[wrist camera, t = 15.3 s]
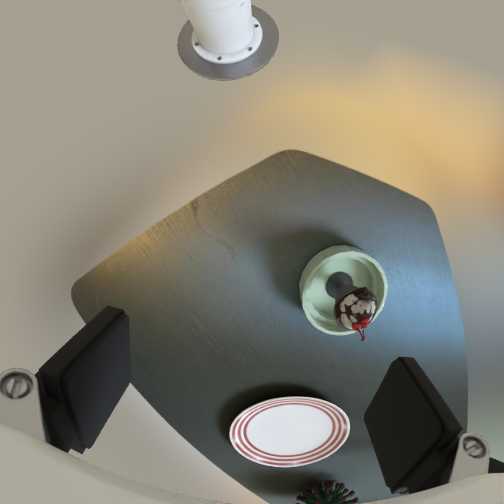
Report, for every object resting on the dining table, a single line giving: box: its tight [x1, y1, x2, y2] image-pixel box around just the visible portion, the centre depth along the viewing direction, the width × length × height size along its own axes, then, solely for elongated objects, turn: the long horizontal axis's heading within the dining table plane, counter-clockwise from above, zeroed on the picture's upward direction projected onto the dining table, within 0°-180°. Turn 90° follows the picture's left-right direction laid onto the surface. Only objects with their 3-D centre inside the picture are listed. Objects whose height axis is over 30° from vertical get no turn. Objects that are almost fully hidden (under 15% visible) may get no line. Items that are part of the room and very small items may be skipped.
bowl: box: [299, 245, 387, 335], centre depth 45 cm, size 14×14×5 cm
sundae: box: [326, 272, 378, 341], centre depth 39 cm, size 7×7×15 cm
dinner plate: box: [229, 397, 350, 467], centre depth 54 cm, size 27×27×3 cm
